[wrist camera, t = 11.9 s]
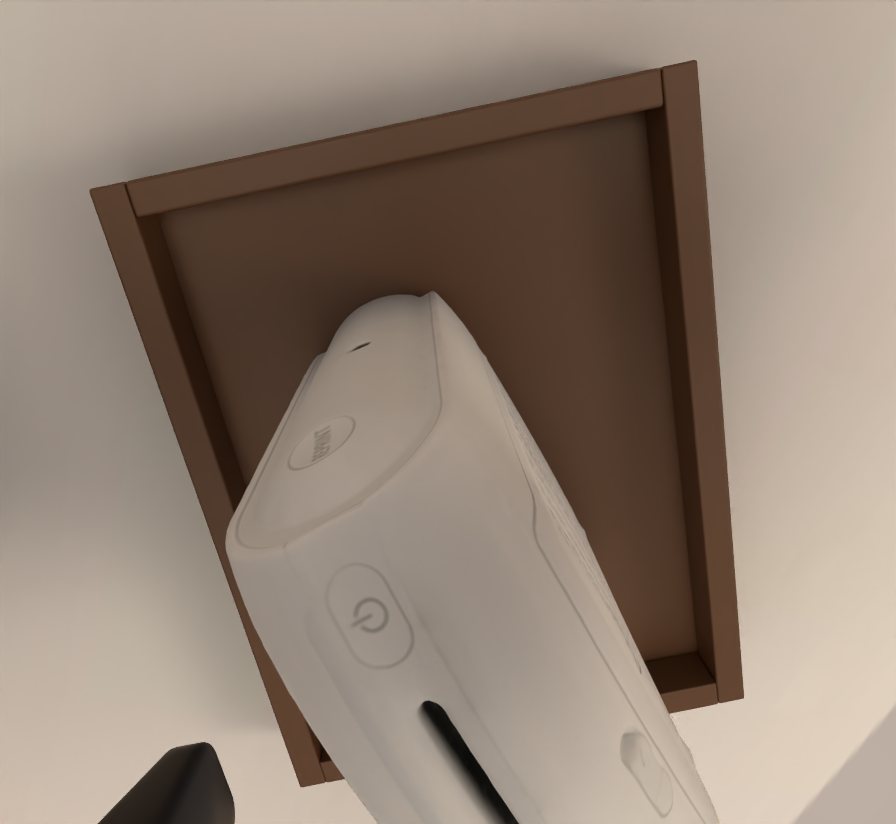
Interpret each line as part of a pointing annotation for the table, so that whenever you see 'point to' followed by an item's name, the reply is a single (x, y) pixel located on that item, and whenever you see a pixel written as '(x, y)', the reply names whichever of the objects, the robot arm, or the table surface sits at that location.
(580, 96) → the tray
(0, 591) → the table surface
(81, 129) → the table surface
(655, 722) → the photo printer
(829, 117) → the table surface
